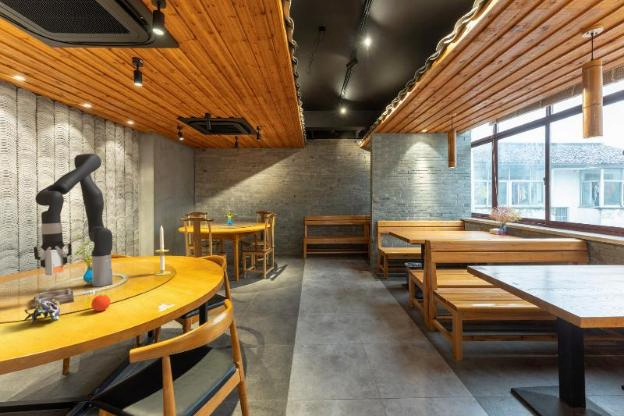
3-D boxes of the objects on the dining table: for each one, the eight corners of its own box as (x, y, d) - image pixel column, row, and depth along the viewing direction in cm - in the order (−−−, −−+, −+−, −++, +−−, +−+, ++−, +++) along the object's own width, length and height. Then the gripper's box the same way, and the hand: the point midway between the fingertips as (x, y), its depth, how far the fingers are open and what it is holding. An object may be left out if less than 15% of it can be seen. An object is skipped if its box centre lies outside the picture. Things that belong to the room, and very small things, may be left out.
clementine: (110, 305, 136) (110, 290, 136) (115, 309, 132) (115, 293, 131) (89, 311, 130) (88, 295, 130) (94, 314, 126) (93, 298, 125)
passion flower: (56, 333, 121) (63, 313, 117) (19, 337, 113) (26, 315, 109) (57, 311, 128) (64, 291, 124) (22, 313, 120) (28, 292, 116)
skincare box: (52, 275, 140) (50, 250, 139) (44, 275, 141) (43, 250, 140) (65, 272, 146) (63, 248, 145) (57, 272, 147) (56, 248, 146)
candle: (168, 270, 202) (167, 223, 201) (172, 273, 195) (171, 224, 193) (152, 273, 196) (151, 224, 195) (156, 276, 188) (154, 225, 187)
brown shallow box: (72, 292, 156) (72, 287, 156) (73, 301, 142) (73, 296, 142) (34, 299, 146) (33, 293, 146) (31, 309, 132) (30, 303, 132)
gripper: (70, 230, 150) (72, 262, 151) (32, 233, 140) (34, 267, 141) (71, 231, 144) (73, 264, 145) (31, 234, 135) (33, 270, 135)
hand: (54, 265), depth 143 cm, fingers closed on skincare box, 7 cm apart
